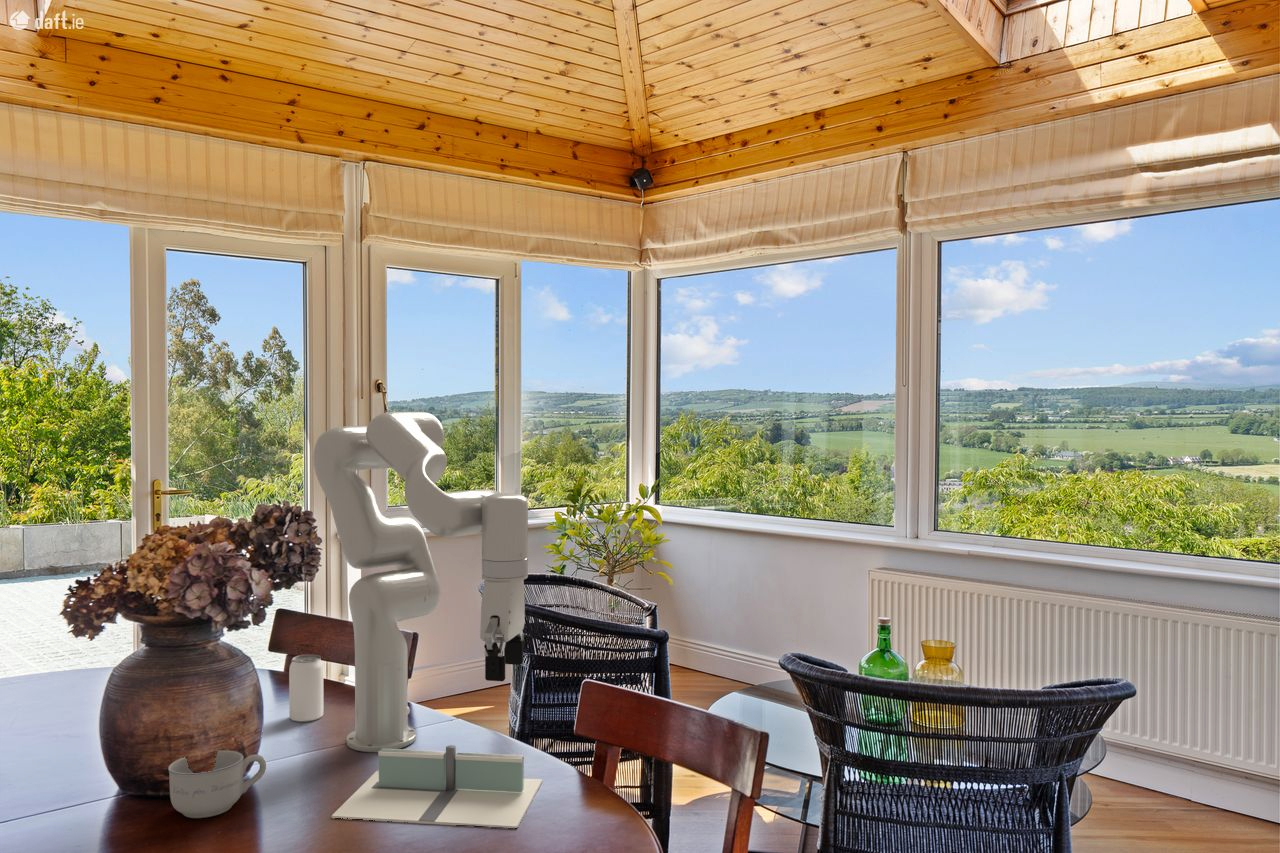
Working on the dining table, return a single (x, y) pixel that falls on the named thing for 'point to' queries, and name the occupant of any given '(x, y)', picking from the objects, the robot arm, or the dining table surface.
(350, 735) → the robot arm
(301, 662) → the can
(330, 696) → the dining table surface
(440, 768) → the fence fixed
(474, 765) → the pale open channel
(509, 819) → the card
